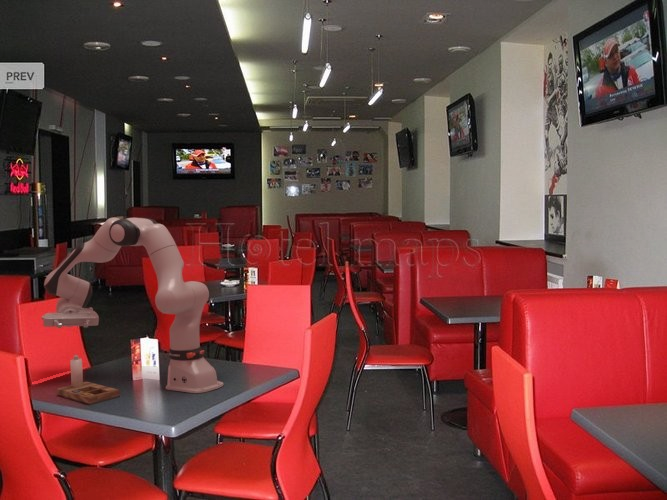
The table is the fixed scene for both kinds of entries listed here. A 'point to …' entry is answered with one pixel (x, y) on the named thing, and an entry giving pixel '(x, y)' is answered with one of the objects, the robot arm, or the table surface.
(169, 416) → the table surface
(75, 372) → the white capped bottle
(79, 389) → the board
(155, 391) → the table surface
